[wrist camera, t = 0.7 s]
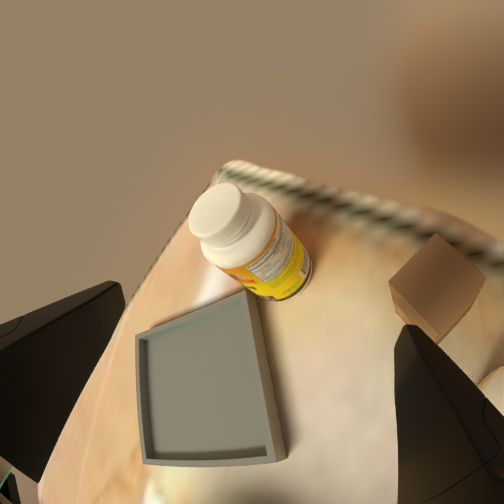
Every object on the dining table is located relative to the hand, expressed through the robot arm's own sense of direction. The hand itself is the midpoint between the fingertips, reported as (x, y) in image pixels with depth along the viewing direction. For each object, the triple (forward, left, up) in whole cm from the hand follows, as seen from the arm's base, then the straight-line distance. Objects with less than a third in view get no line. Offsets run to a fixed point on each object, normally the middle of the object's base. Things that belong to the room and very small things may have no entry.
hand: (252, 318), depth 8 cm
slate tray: (+1, +13, -14) cm, 19 cm away
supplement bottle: (+9, +3, -14) cm, 17 cm away
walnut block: (+1, -7, -14) cm, 15 cm away
